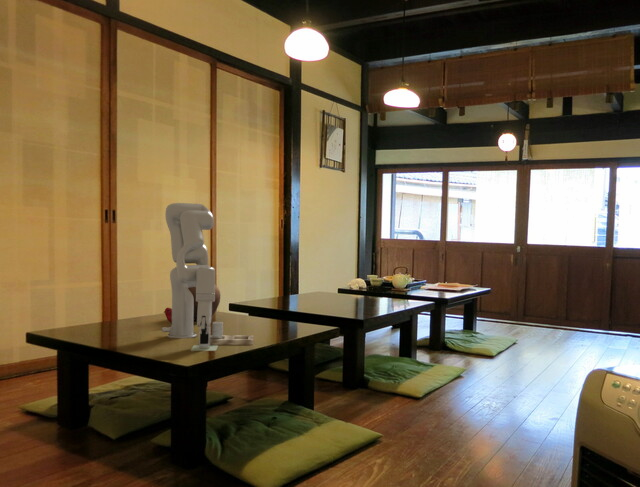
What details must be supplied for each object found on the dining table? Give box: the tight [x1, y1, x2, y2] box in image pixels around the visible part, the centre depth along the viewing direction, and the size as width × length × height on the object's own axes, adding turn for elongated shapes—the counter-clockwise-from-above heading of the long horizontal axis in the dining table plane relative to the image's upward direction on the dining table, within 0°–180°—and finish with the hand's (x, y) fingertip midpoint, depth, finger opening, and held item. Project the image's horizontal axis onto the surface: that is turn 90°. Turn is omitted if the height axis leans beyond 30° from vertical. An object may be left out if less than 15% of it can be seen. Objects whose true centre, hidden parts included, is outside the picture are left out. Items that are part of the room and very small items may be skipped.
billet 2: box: [211, 321, 224, 339], centre depth 230 cm, size 4×4×9 cm
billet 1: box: [198, 324, 212, 349], centre depth 219 cm, size 4×4×9 cm
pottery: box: [188, 284, 221, 321], centre depth 289 cm, size 23×23×25 cm
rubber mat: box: [190, 344, 219, 352], centre depth 219 cm, size 10×10×1 cm
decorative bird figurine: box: [163, 307, 172, 324], centre depth 269 cm, size 3×18×10 cm, turn 139°
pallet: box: [210, 334, 254, 346], centre depth 231 cm, size 20×10×2 cm, turn 95°
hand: (204, 342), depth 219 cm, fingers closed on billet 1, 4 cm apart
